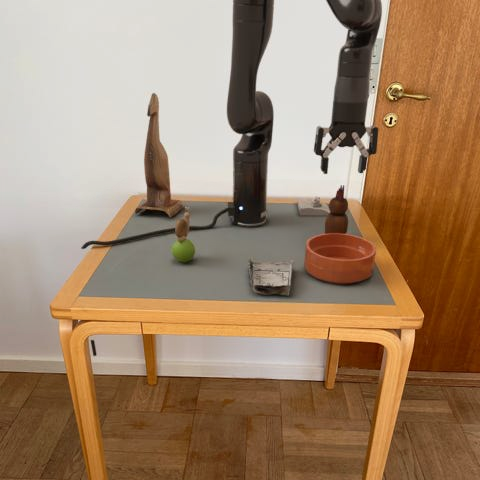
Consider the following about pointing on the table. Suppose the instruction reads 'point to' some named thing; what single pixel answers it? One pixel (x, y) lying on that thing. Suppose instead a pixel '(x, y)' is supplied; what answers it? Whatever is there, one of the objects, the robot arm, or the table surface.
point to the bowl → (339, 258)
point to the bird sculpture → (157, 167)
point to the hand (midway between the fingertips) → (342, 172)
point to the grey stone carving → (313, 207)
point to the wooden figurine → (337, 214)
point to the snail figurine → (183, 240)
